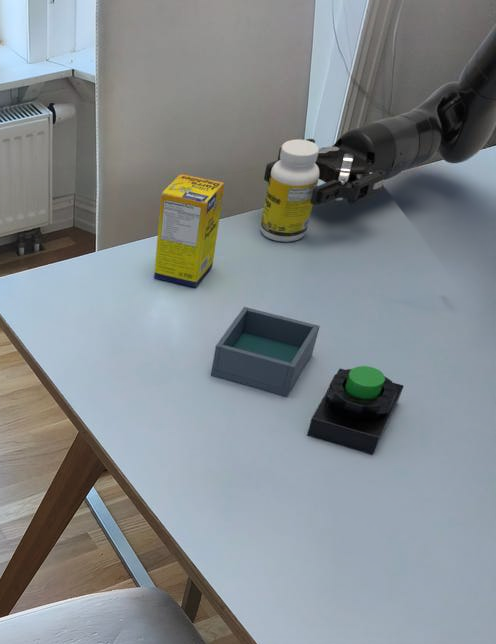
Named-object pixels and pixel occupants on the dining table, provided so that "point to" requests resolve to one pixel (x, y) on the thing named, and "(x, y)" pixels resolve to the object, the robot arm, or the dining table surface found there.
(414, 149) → the robot arm
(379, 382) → the button
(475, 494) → the dining table surface
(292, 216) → the pill bottle
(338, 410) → the control block
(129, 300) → the dining table surface
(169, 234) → the supplement box
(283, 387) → the basket
